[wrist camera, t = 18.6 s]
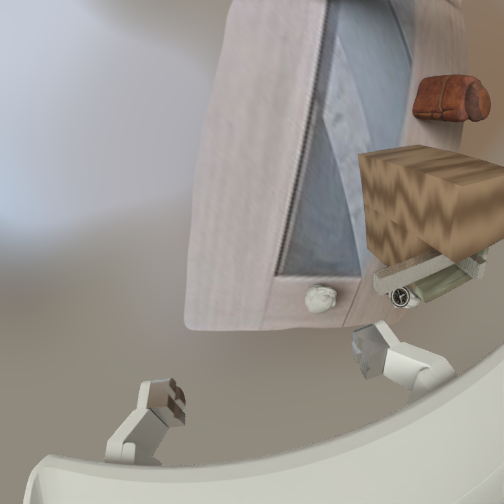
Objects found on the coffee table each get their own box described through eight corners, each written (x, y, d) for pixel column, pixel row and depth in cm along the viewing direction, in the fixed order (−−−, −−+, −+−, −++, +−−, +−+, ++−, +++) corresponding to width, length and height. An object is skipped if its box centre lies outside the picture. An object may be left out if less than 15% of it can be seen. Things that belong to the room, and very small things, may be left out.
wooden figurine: (427, 128, 45) (490, 139, 29) (407, 113, 43) (473, 118, 27) (439, 87, 41) (500, 88, 24) (420, 70, 39) (482, 65, 23)
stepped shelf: (357, 154, 46) (462, 186, 23) (418, 144, 46) (518, 172, 23) (367, 248, 55) (443, 321, 31) (421, 229, 55) (500, 285, 32)
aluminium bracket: (373, 272, 37) (402, 303, 29) (455, 240, 37) (487, 260, 30) (373, 288, 38) (400, 320, 31) (454, 255, 38) (483, 277, 31)
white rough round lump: (334, 282, 57) (347, 300, 51) (314, 306, 59) (325, 325, 53) (314, 270, 55) (326, 288, 49) (294, 295, 57) (303, 315, 51)
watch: (381, 265, 57) (407, 290, 47) (404, 269, 59) (430, 293, 49) (372, 286, 60) (395, 313, 50) (395, 289, 61) (419, 314, 51)
